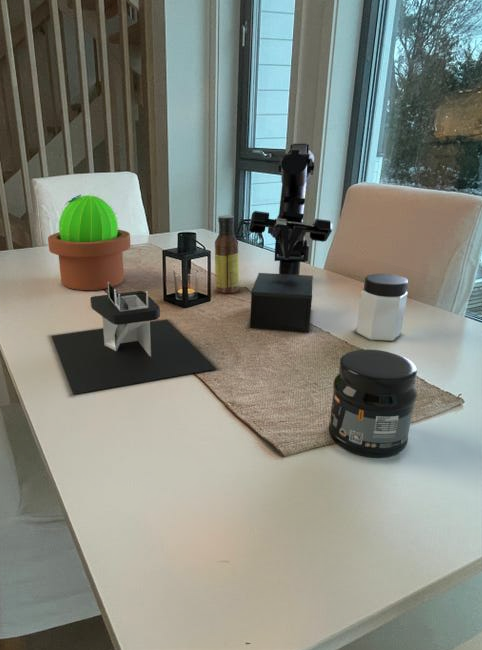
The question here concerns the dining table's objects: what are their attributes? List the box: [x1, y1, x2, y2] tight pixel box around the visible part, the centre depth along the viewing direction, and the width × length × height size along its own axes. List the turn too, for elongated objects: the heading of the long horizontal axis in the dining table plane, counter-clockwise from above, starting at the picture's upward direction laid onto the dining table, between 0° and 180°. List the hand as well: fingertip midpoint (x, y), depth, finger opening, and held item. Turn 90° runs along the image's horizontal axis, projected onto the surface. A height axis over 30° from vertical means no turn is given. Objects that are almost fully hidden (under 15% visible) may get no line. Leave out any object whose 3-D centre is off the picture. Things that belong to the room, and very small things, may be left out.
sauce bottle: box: [214, 214, 240, 294], centre depth 134 cm, size 6×6×20 cm
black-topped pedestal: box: [51, 282, 217, 395], centre depth 99 cm, size 28×26×13 cm
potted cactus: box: [47, 193, 131, 291], centre depth 143 cm, size 22×22×25 cm
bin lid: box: [250, 272, 314, 300], centre depth 114 cm, size 15×13×1 cm
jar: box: [355, 273, 409, 342], centre depth 106 cm, size 9×8×12 cm
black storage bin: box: [249, 294, 313, 334], centre depth 116 cm, size 15×13×8 cm
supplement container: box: [328, 348, 418, 459], centre depth 70 cm, size 10×10×12 cm
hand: (286, 258), depth 119 cm, fingers closed
